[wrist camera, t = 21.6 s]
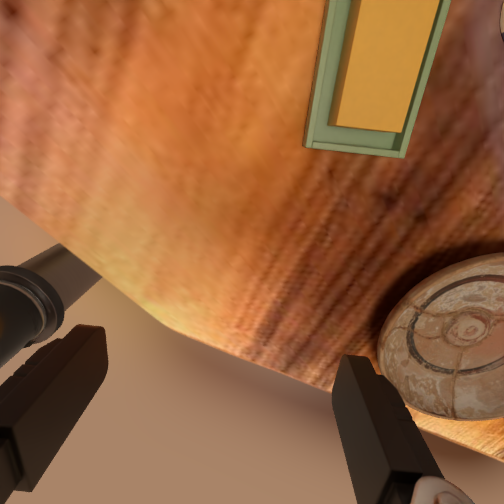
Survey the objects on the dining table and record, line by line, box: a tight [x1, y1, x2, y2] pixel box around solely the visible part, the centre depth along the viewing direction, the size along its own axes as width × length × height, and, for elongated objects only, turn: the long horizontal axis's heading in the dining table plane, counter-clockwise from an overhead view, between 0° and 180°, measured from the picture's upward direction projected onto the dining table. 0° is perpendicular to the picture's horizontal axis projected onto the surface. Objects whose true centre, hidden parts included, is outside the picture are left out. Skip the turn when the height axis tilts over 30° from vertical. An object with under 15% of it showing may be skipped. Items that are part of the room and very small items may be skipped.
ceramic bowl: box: [377, 252, 504, 421], centre depth 34 cm, size 23×24×5 cm
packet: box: [327, 0, 440, 133], centre depth 24 cm, size 12×6×4 cm, turn 174°
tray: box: [303, 0, 451, 158], centre depth 25 cm, size 9×16×2 cm, turn 174°
